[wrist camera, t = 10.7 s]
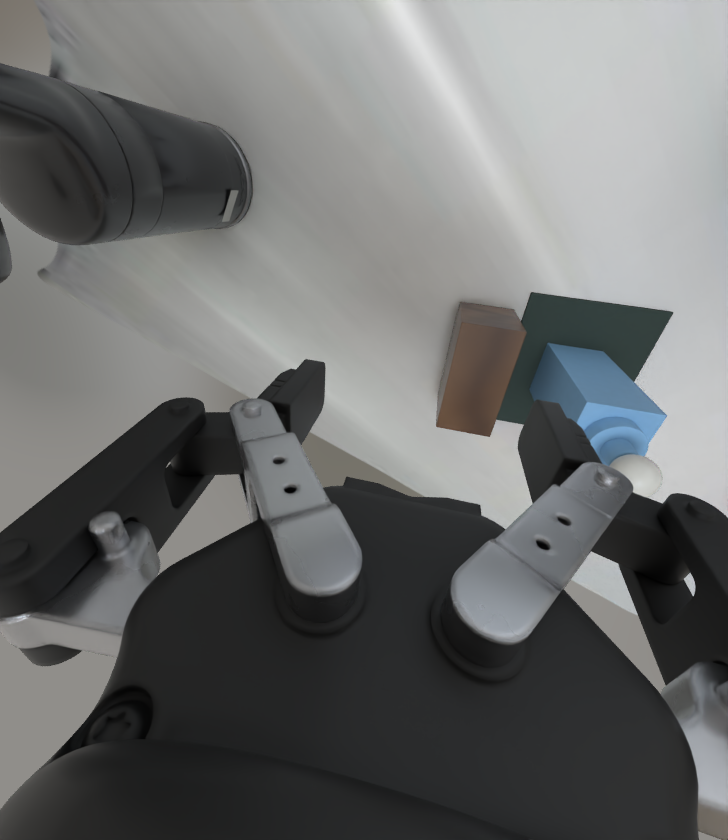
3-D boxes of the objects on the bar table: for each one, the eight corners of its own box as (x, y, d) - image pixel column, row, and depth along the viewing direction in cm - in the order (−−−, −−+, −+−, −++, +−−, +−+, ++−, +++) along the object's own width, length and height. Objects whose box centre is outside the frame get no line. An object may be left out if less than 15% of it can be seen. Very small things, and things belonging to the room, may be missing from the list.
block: (437, 394, 46) (435, 427, 40) (459, 301, 40) (461, 322, 33) (484, 402, 46) (489, 437, 39) (514, 309, 39) (527, 332, 33)
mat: (488, 417, 47) (489, 418, 46) (531, 292, 38) (531, 292, 38) (600, 437, 45) (601, 438, 45) (672, 311, 36) (673, 312, 36)
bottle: (582, 341, 42) (786, 437, 27) (561, 386, 45) (733, 494, 30) (485, 345, 37) (662, 461, 22) (470, 394, 41) (617, 525, 26)
